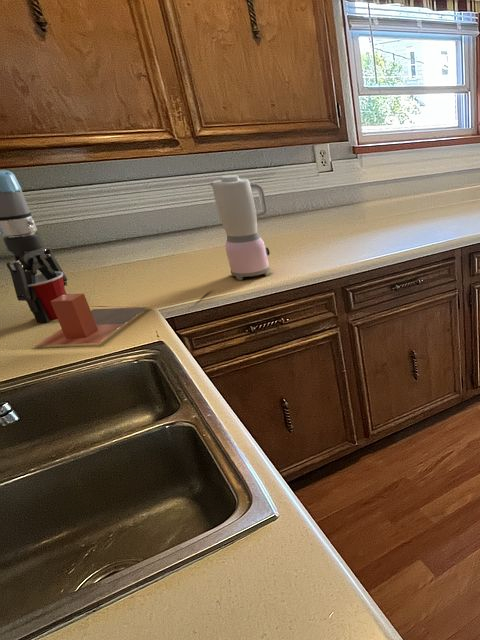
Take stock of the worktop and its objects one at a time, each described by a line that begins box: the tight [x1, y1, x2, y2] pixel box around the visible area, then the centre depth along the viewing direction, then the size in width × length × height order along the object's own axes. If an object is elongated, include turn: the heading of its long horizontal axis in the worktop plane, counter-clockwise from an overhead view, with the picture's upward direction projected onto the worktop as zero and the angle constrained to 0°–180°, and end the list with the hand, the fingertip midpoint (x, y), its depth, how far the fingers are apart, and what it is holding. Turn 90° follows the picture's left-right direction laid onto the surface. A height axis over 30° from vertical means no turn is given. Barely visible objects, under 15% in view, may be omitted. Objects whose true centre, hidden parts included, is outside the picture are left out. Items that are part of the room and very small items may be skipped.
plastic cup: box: [28, 271, 67, 321], centre depth 142 cm, size 11×11×12 cm
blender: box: [208, 174, 271, 281], centre depth 170 cm, size 16×12×32 cm
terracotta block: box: [50, 293, 98, 339], centre depth 130 cm, size 5×5×10 cm
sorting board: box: [35, 306, 148, 349], centre depth 138 cm, size 15×24×1 cm, turn 4°
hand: (55, 315), depth 144 cm, fingers closed on plastic cup, 9 cm apart
